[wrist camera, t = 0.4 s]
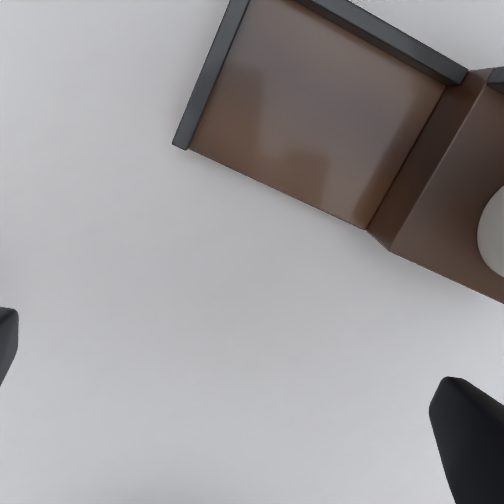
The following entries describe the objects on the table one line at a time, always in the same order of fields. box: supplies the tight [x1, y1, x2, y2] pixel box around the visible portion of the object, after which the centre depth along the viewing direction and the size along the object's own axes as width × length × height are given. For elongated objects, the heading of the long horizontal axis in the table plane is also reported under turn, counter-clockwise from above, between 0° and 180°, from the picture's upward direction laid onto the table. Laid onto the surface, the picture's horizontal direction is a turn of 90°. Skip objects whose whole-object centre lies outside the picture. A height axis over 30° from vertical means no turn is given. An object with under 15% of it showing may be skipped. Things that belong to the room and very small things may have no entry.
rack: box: [172, 0, 504, 304], centre depth 19 cm, size 8×19×6 cm, turn 65°
